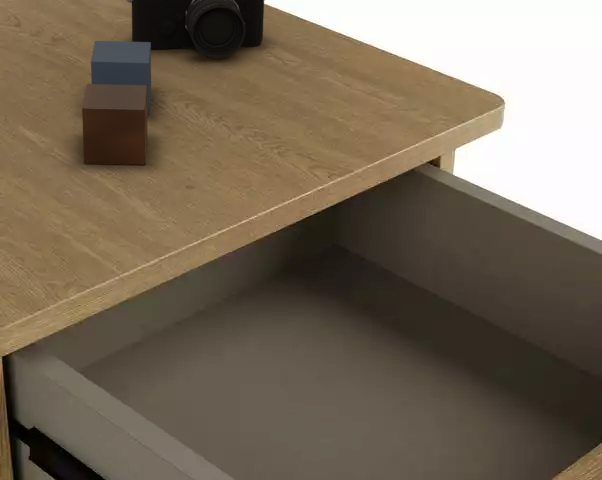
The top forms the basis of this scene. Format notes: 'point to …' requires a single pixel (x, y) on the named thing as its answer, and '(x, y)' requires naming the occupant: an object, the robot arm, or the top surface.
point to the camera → (198, 24)
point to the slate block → (122, 64)
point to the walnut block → (115, 124)
